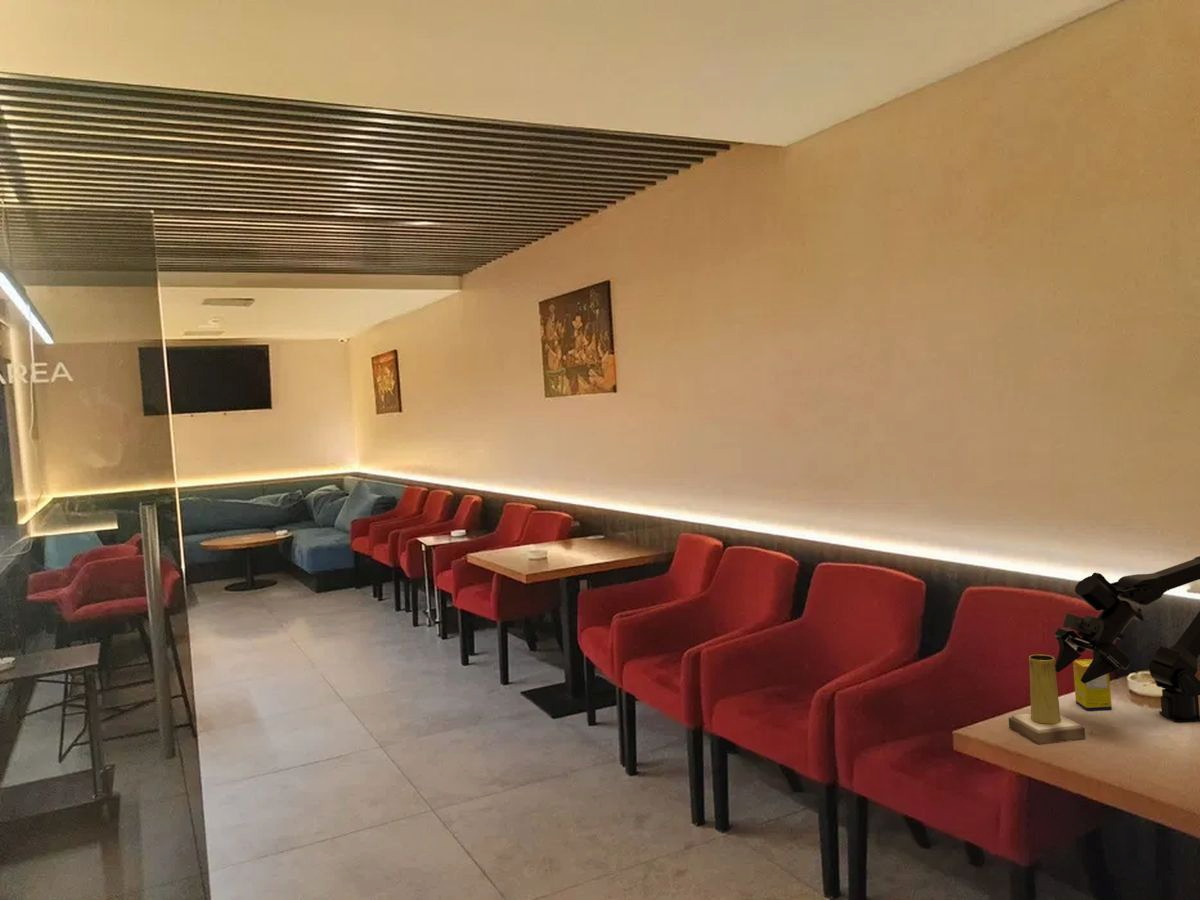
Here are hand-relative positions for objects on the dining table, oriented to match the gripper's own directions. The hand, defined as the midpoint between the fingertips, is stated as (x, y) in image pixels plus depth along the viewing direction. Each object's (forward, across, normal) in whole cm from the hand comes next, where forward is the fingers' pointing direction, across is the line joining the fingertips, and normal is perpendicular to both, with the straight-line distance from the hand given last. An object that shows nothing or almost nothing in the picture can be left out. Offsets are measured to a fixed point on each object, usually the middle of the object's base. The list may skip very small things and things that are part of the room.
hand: (1068, 676), depth 192 cm
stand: (+13, 0, +4) cm, 14 cm away
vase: (+11, 0, +2) cm, 11 cm away
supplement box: (-1, -13, +19) cm, 23 cm away
